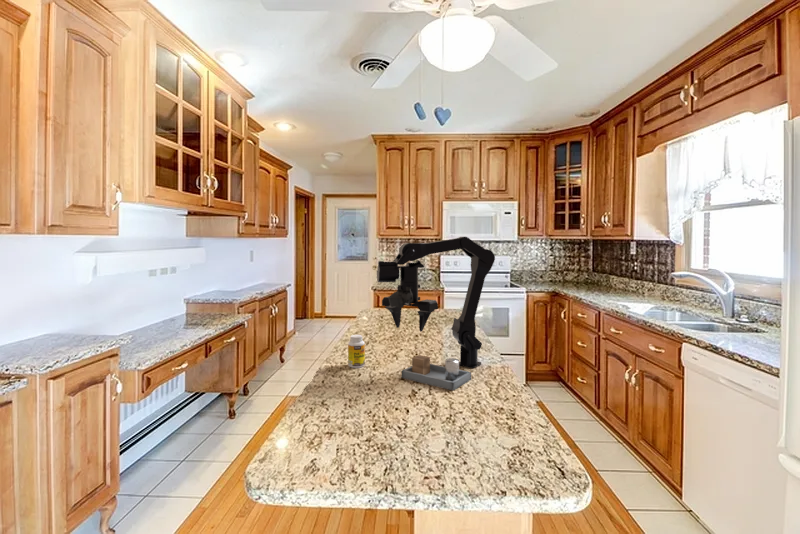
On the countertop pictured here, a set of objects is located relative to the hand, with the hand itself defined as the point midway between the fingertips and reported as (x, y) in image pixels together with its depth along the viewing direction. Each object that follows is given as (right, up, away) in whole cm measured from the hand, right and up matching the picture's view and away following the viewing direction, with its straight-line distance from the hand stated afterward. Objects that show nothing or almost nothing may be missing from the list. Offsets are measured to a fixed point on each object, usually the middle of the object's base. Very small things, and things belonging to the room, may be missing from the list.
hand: (409, 329), depth 130 cm
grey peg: (+12, -13, -12) cm, 22 cm away
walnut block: (+4, -13, -5) cm, 14 cm away
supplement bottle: (-18, -13, +4) cm, 22 cm away
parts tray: (+8, -14, -9) cm, 18 cm away
